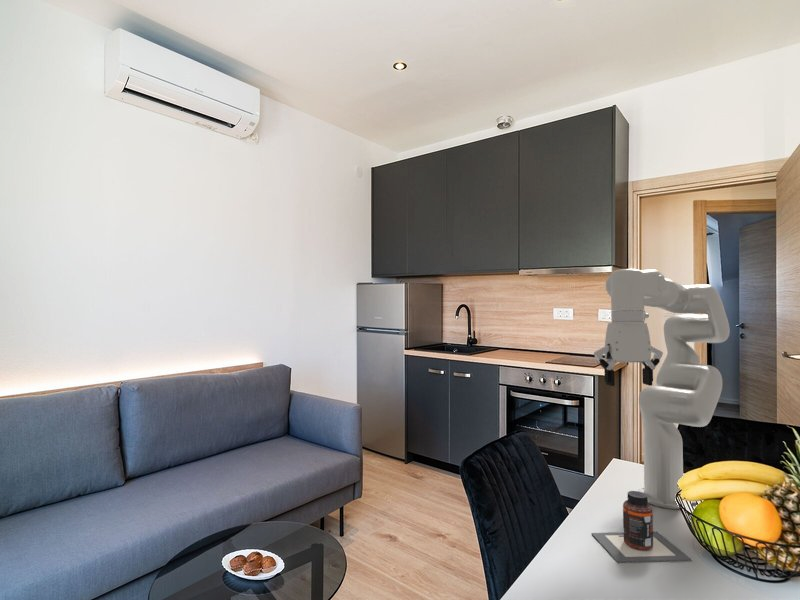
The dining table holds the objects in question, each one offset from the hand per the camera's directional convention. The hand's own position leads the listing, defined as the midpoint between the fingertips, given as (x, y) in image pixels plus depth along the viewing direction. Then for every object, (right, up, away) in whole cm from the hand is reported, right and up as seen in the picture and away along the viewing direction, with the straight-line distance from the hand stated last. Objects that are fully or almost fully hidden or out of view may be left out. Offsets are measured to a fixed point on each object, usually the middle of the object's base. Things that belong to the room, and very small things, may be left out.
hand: (628, 384), depth 113 cm
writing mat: (-4, -34, -13) cm, 37 cm away
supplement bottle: (-4, -34, -13) cm, 36 cm away
